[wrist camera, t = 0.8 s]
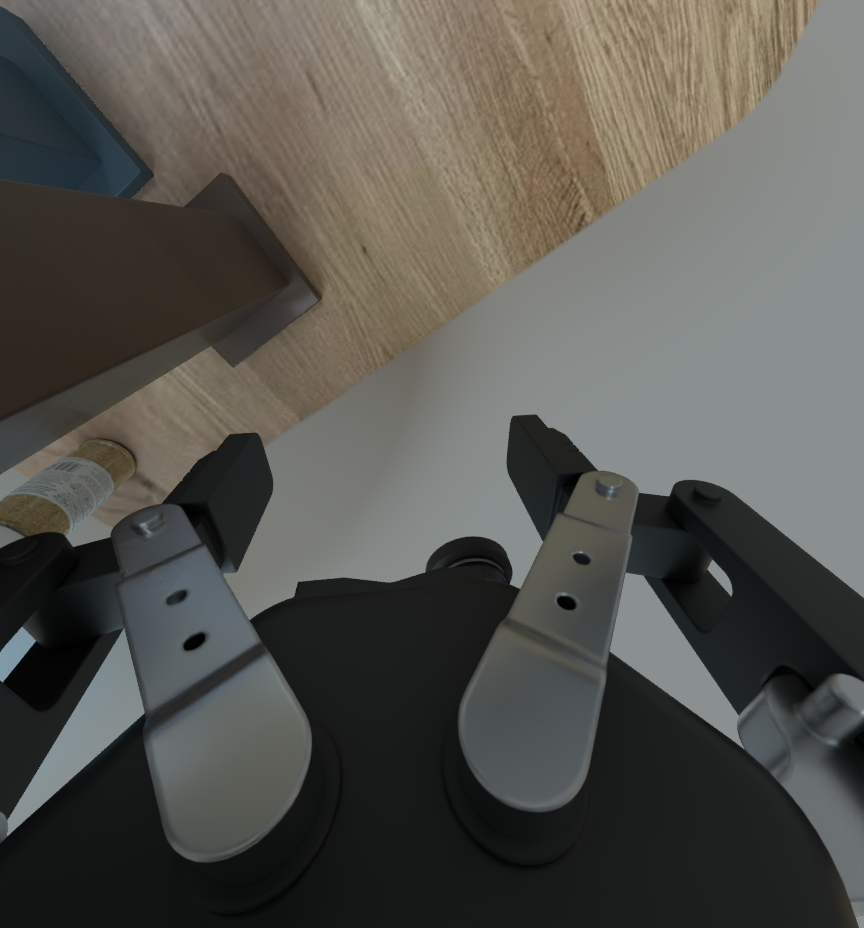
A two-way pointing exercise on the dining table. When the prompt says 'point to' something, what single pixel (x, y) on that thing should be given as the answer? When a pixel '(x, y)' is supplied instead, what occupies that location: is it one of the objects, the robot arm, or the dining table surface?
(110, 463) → the sprinkles bottle
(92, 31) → the dining table surface
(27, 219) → the tall stand
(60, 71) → the low stand
